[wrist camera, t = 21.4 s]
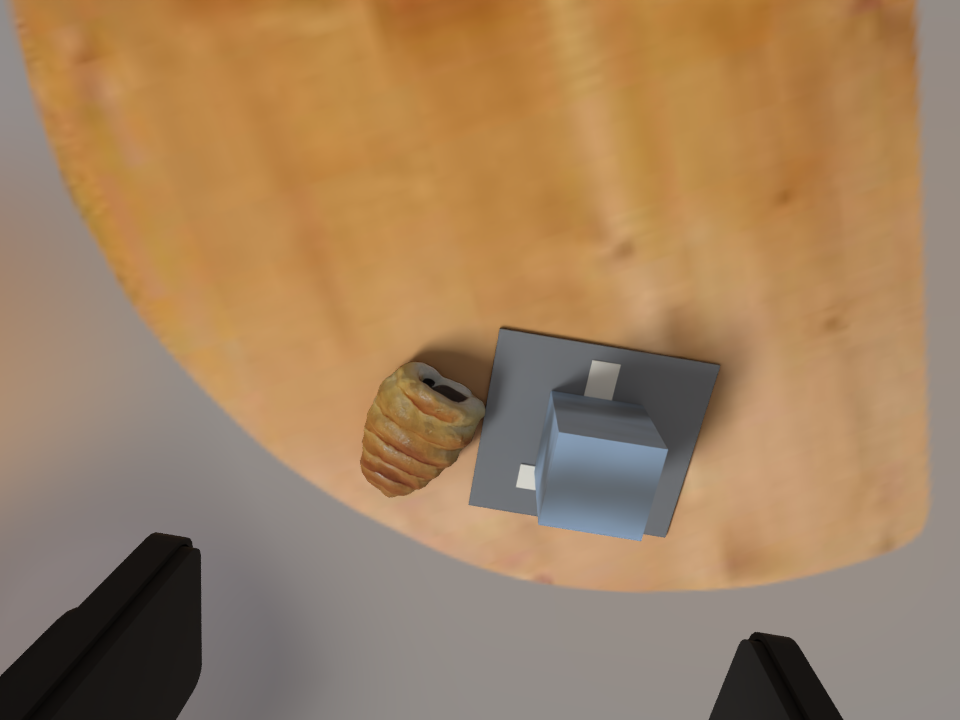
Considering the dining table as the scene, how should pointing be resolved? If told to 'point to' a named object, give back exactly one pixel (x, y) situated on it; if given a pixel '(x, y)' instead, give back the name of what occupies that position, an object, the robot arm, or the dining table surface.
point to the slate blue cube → (597, 466)
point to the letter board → (593, 373)
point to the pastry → (416, 428)
